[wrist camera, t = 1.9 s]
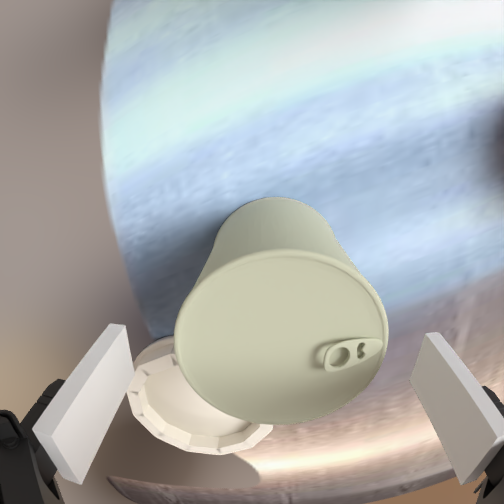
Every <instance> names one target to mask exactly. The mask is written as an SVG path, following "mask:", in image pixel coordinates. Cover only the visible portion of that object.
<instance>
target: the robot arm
mask: <svg viewBox="0 0 504 504" xmlns="http://www.w3.org/2000/svg"><path fill="white" fill-rule="evenodd" d="M134 376H135V371H134V367H133V362H132V357H131V352H130V347H129V342H128V336H127V331H126V326H125V325H119V324H109V325H108V327H107V328H106V329H105V330H104V332H103V333H102V334H101V335H100V337H99V338H98V339H97V341H96V342H95V343H94V344H93V346H92V347H91V348H90V350H89V351H88V352H87V354H86V355H85V356H84V357H83V359H82V360H81V361H80V363H79V364H78V365H77V367H76V368H75V369H74V371H73V372H72V373H71V375H70V376H69V377H68V379H67V380H61V379H58V380H56V381H55V382H53V383H52V384H50V385H49V386H48V387H47V388H46V390H45V391H44V392H43V394H42V396H40V398H39V399H38V400H37V403H35V404H34V405H33V407H32V408H31V409H30V411H29V412H28V414H27V415H26V416H25V418H24V419H23V420H22V422H21V423H19V421H18V419H17V418H16V416H15V415H14V414H13V413H12V412H11V411H8V410H0V504H65V503H64V501H63V498H62V496H61V492H60V490H59V487H58V484H57V481H56V479H55V478H54V475H55V473H56V471H57V470H58V471H59V473H60V474H61V476H62V477H63V478H64V479H67V480H70V481H72V482H75V483H78V484H82V482H83V480H84V478H85V476H86V474H87V471H88V469H89V467H90V465H91V463H92V461H93V459H94V456H95V455H96V452H97V450H98V448H99V446H100V444H101V442H102V440H103V438H104V436H105V433H106V432H107V429H108V427H109V425H110V423H111V421H112V419H113V417H114V415H115V413H116V411H117V409H118V407H119V405H120V403H121V401H122V399H123V397H124V395H125V393H126V392H127V390H128V388H129V386H130V384H131V382H132V380H133V378H134ZM409 381H410V383H411V385H412V386H413V388H414V390H415V392H416V394H417V396H418V398H419V400H420V401H421V403H422V405H423V407H424V409H425V411H426V413H427V415H428V417H429V419H430V421H431V423H432V425H433V427H434V429H435V431H436V433H437V435H438V437H439V439H440V441H441V443H442V445H443V447H444V449H445V452H446V454H447V456H448V458H449V460H450V462H451V464H452V466H453V469H454V471H455V473H456V475H457V478H458V480H459V482H460V484H461V485H464V484H467V483H469V482H472V481H474V480H477V478H478V477H479V476H480V475H481V474H482V473H483V471H485V473H486V475H487V476H486V478H485V479H484V480H483V481H482V482H481V484H480V485H479V486H478V487H477V488H476V489H475V491H474V493H476V492H477V491H478V490H479V489H480V488H481V490H480V493H479V496H478V499H477V502H476V504H504V405H503V404H502V402H500V400H499V398H498V397H497V396H496V394H495V393H494V392H493V391H492V390H490V389H489V388H487V387H486V386H482V387H481V385H480V384H479V383H478V381H477V380H476V379H475V377H474V376H473V375H472V373H471V372H470V371H469V370H468V368H467V367H466V366H465V364H464V363H463V362H462V361H461V359H460V358H459V357H458V355H457V354H456V353H455V352H454V350H453V349H452V348H451V347H450V345H449V344H448V343H447V342H446V340H445V339H444V338H443V337H442V336H441V334H440V333H439V332H436V333H425V336H424V339H423V342H422V346H421V349H420V352H419V355H418V358H417V361H416V364H415V366H414V369H413V372H412V375H411V378H410V380H409Z"/></svg>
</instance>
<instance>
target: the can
mask: <svg viewBox="0 0 504 504" xmlns="http://www.w3.org/2000/svg"><path fill="white" fill-rule="evenodd" d="M387 344H388V321H387V316H386V312H385V309H384V306H383V304H382V302H381V300H380V297H379V296H378V294H377V293H376V291H375V290H374V288H373V287H372V285H371V284H370V283H369V282H368V281H367V280H366V279H365V278H364V277H363V276H362V275H361V273H360V272H359V271H358V269H357V268H356V266H355V265H354V264H353V262H352V261H351V260H350V258H349V257H348V255H347V254H346V252H345V251H344V250H343V248H342V247H341V245H340V244H339V242H338V241H337V240H336V238H335V235H334V233H333V231H332V229H331V227H330V225H329V224H328V223H327V221H326V220H325V219H324V218H323V217H322V216H321V215H320V214H319V213H318V212H317V211H316V210H315V209H313V208H312V207H310V206H308V205H307V204H304V203H302V202H300V201H297V200H294V199H290V198H284V197H268V198H262V199H258V200H255V201H252V202H250V203H247V204H245V205H244V206H242V207H240V208H239V209H237V210H236V211H235V212H233V213H232V214H231V215H230V216H229V217H228V218H227V220H226V221H225V222H224V223H223V225H222V226H221V228H220V230H219V231H218V234H217V236H216V239H215V242H214V246H213V249H212V252H211V254H210V256H209V258H208V260H207V262H206V264H205V266H204V268H203V270H202V272H201V274H200V276H199V278H198V279H197V281H196V283H195V285H194V287H193V289H192V290H191V291H190V293H189V294H188V296H187V297H186V299H185V300H184V302H183V304H182V306H181V308H180V310H179V313H178V316H177V319H176V323H175V329H174V349H175V355H176V359H177V363H178V365H179V368H180V370H181V372H182V374H183V376H184V377H185V379H186V381H187V382H188V383H189V385H190V386H191V387H192V389H193V390H194V391H195V392H196V393H197V394H198V395H199V396H200V397H201V398H202V399H203V400H205V401H206V402H207V403H209V404H210V405H211V406H213V407H215V408H216V409H218V410H219V411H221V412H223V413H225V414H228V415H230V416H232V417H235V418H238V419H241V420H244V421H248V422H252V423H258V424H267V425H288V424H296V423H302V422H307V421H311V420H314V419H317V418H321V417H323V416H326V415H328V414H330V413H333V412H334V411H336V410H338V409H340V408H342V407H343V406H345V405H346V404H348V403H349V402H351V401H352V400H353V399H354V398H356V397H357V396H358V395H359V394H360V393H361V392H362V391H363V390H364V389H365V388H366V387H367V386H368V385H369V384H370V382H371V381H372V380H373V378H374V377H375V375H376V373H377V372H378V370H379V368H380V366H381V364H382V362H383V359H384V356H385V353H386V349H387Z"/></svg>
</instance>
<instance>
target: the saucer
mask: <svg viewBox="0 0 504 504" xmlns="http://www.w3.org/2000/svg"><path fill="white" fill-rule="evenodd" d="M133 367H134V371H135V376H134V378H133V380H132V382H131V384H130V386H129V388H128V390H127V396H128V399H129V403H130V406H131V409H132V413H133V415H134V416H135V417H136V418H137V419H138V420H139V421H140V422H141V423H142V424H143V425H144V426H145V427H146V428H147V429H148V430H149V431H150V432H151V433H152V434H153V435H154V436H155V437H156V438H158V439H161V440H163V441H165V442H167V443H169V444H171V445H174V446H176V447H178V448H180V449H183V450H185V451H189V452H197V453H205V454H215V455H224V454H228V453H233V452H237V451H241V450H245V449H249V448H252V447H254V446H255V445H256V444H257V443H258V442H259V441H261V440H262V439H263V438H264V437H265V436H266V435H267V434H269V433H270V432H271V431H272V429H273V425H267V424H258V423H252V422H248V421H244V420H241V419H238V418H235V417H232V416H230V415H228V414H225V413H223V412H221V411H219V410H218V409H216V408H215V407H213V406H211V405H210V404H209V403H207V402H206V401H205V400H203V399H202V398H201V397H200V396H199V395H198V394H197V393H196V392H195V391H194V390H193V389H192V387H191V386H190V385H189V383H188V382H187V381H186V379H185V377H184V376H183V374H182V372H181V370H180V368H179V365H178V363H177V359H176V355H175V349H174V335H172V336H167V337H164V338H161V339H158V340H156V341H154V342H152V343H151V344H149V345H148V346H146V347H145V348H144V349H143V350H142V351H141V352H140V353H139V354H138V356H137V358H136V359H135V361H134V363H133Z"/></svg>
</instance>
